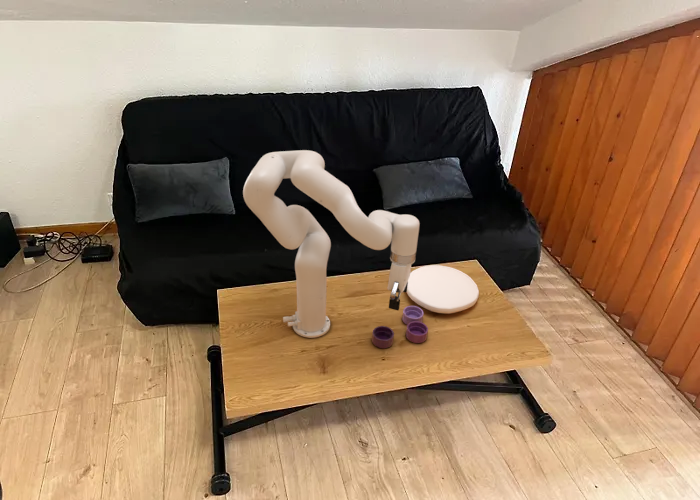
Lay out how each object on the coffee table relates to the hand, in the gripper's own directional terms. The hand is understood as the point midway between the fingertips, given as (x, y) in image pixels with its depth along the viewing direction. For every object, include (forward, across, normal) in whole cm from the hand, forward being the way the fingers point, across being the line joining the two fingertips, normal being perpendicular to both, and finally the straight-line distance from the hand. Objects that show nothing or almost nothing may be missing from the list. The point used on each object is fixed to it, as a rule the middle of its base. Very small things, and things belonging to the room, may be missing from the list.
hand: (397, 299), depth 156 cm
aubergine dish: (+14, +5, -3) cm, 16 cm away
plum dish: (+15, -2, +7) cm, 16 cm away
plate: (+15, -28, +10) cm, 33 cm away
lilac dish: (+15, -9, +4) cm, 18 cm away
